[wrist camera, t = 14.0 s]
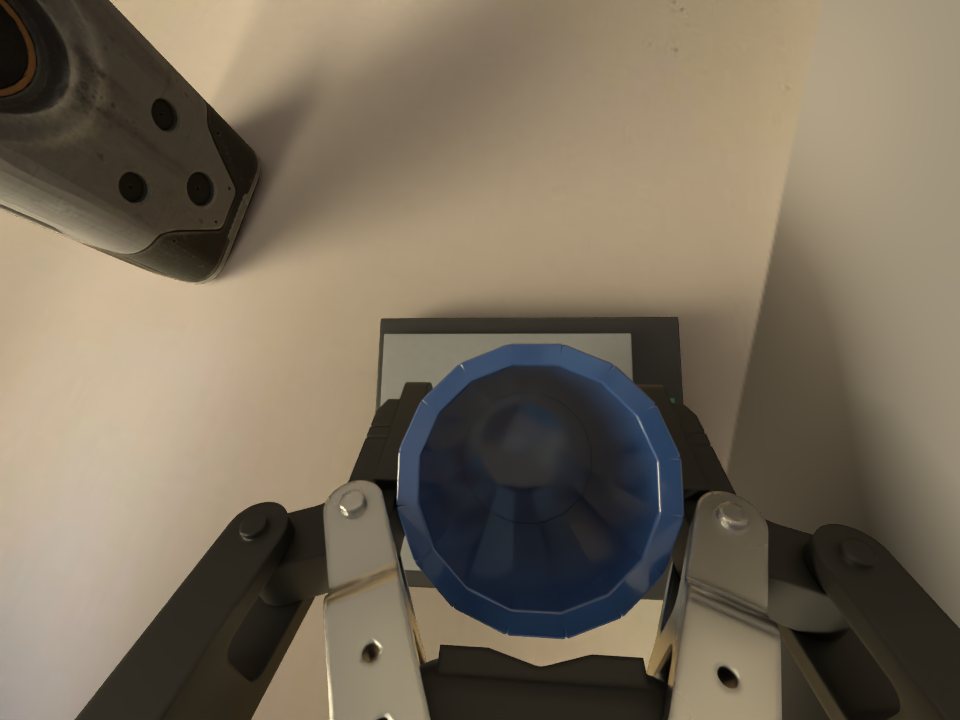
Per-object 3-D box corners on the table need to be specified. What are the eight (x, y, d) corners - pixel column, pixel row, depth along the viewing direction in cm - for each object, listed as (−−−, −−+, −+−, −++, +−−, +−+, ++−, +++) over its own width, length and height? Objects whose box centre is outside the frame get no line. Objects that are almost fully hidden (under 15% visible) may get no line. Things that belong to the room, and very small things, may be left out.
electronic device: (219, 292, 25) (-869, -189, 5) (135, 269, 26) (-1082, -228, 6) (272, 155, 26) (-465, -653, 7) (191, 137, 27) (-688, -637, 7)
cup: (599, 382, 16) (676, 343, 9) (603, 536, 16) (693, 649, 8) (455, 381, 17) (402, 342, 9) (450, 529, 16) (388, 629, 8)
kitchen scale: (663, 326, 22) (685, 312, 19) (676, 583, 20) (703, 610, 18) (392, 327, 24) (375, 314, 21) (380, 568, 22) (359, 591, 19)
